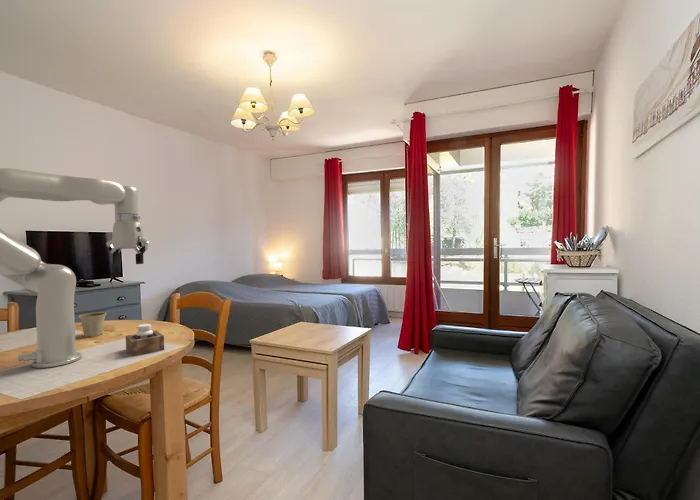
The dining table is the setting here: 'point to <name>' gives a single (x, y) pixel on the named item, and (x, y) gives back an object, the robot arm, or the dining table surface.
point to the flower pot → (92, 323)
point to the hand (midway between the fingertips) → (128, 263)
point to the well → (144, 344)
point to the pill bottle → (144, 331)
